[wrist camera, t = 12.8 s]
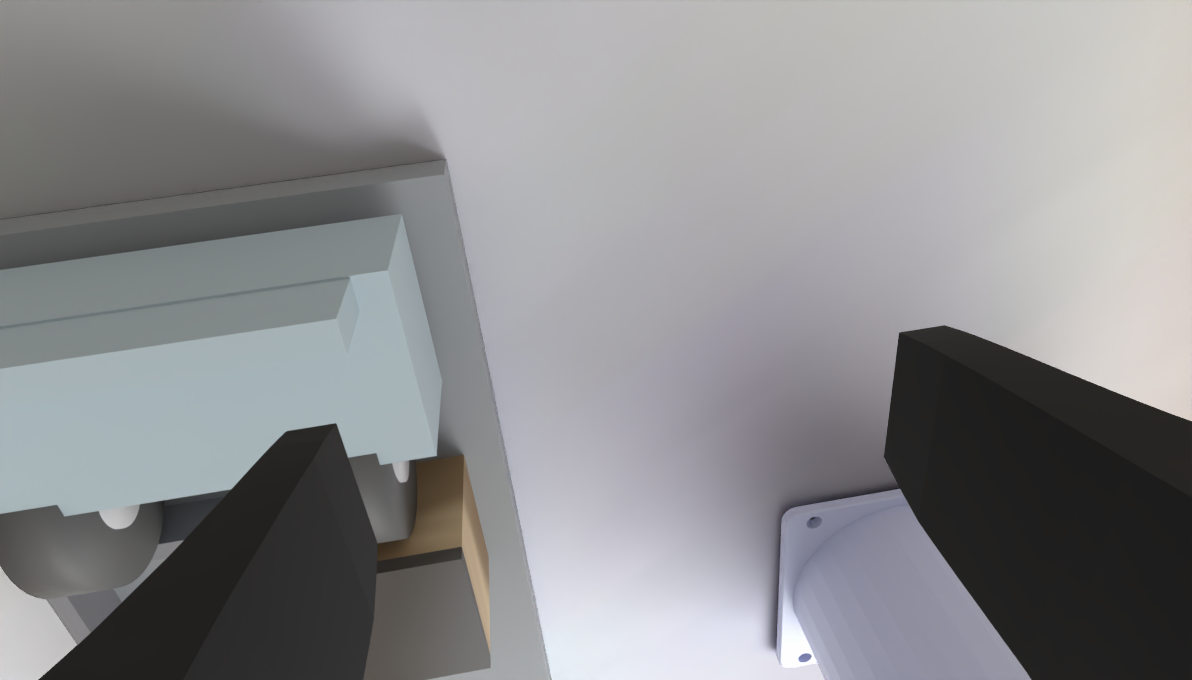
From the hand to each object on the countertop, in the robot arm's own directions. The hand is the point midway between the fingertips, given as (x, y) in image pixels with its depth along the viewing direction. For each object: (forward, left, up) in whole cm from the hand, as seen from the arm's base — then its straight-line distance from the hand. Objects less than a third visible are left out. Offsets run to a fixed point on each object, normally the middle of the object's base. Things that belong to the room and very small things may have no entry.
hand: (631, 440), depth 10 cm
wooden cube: (+6, +9, -9) cm, 14 cm away
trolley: (+9, +3, -9) cm, 13 cm away
